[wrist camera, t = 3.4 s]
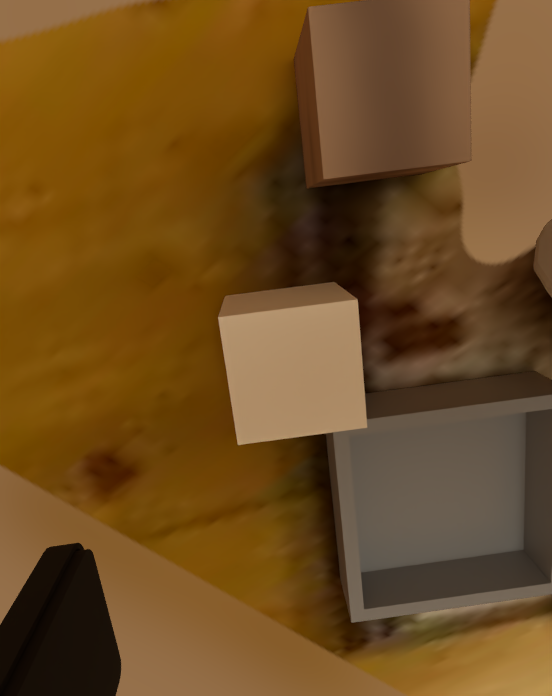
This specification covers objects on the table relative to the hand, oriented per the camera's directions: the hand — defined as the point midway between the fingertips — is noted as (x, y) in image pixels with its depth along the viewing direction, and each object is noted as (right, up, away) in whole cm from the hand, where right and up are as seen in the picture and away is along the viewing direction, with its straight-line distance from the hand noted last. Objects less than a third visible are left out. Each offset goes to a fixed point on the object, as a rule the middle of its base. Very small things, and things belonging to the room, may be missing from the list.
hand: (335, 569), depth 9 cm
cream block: (-1, +5, +18) cm, 18 cm away
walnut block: (+3, +16, +15) cm, 22 cm away
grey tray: (+9, -4, +20) cm, 22 cm away
